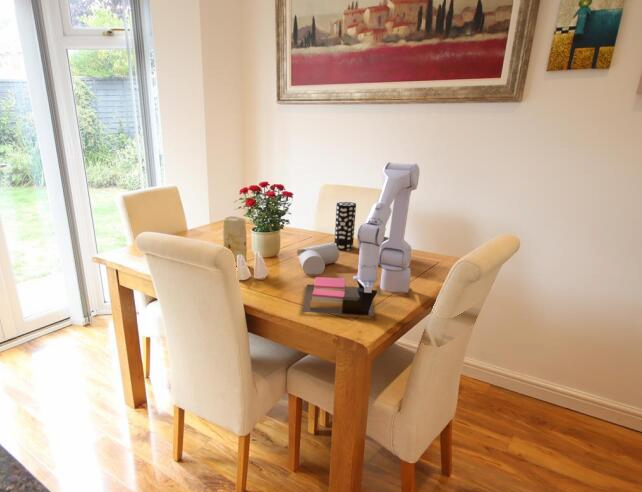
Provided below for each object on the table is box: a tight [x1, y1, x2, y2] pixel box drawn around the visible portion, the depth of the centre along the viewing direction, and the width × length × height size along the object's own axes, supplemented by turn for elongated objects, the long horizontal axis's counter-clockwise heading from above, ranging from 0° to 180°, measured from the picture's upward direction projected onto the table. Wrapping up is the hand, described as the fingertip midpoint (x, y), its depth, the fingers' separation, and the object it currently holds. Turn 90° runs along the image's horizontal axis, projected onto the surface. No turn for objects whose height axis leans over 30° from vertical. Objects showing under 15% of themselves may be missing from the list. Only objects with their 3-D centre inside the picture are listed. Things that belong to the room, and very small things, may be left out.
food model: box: [222, 216, 248, 265], centre depth 187 cm, size 10×7×20 cm
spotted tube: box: [333, 201, 357, 252], centre depth 204 cm, size 8×8×20 cm
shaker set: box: [236, 251, 269, 281], centre depth 173 cm, size 12×4×11 cm, turn 85°
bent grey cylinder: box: [296, 241, 340, 275], centre depth 183 cm, size 18×11×20 cm
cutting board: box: [301, 284, 375, 317], centre depth 153 cm, size 22×23×1 cm
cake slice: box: [312, 289, 345, 302], centre depth 149 cm, size 10×4×4 cm, turn 73°
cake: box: [313, 276, 346, 292], centre depth 157 cm, size 10×8×4 cm
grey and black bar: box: [310, 297, 369, 314], centre depth 144 cm, size 18×2×4 cm, turn 78°
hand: (364, 305), depth 142 cm, fingers open, 7 cm apart
